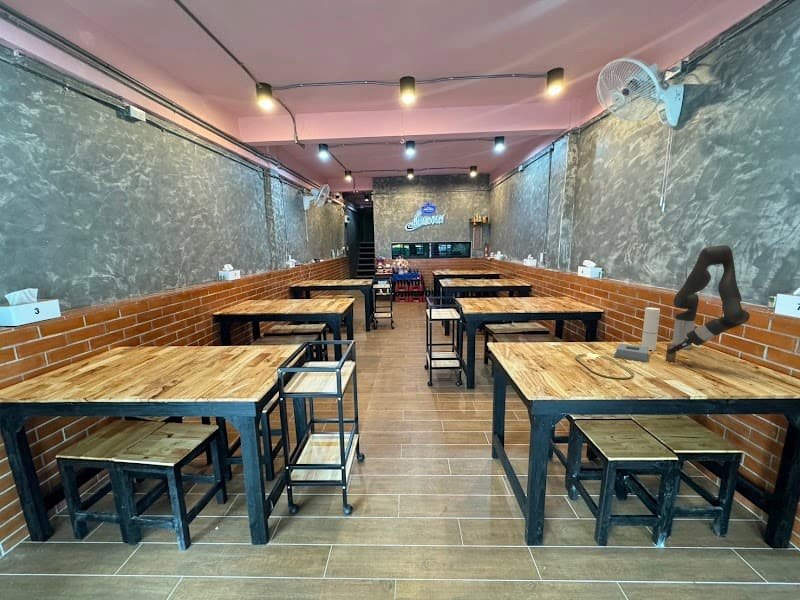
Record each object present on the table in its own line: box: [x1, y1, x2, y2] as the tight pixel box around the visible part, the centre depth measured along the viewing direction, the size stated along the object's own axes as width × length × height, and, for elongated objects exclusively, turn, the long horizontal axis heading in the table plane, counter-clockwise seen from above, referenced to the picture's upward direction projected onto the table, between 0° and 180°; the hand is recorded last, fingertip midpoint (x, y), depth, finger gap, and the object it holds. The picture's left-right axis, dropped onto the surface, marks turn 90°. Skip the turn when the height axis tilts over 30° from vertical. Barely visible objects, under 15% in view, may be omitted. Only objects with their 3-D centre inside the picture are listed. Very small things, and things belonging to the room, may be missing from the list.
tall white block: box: [640, 307, 661, 351], centre depth 200 cm, size 7×7×25 cm
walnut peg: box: [665, 342, 677, 363], centre depth 180 cm, size 4×4×10 cm
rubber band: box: [575, 353, 635, 380], centre depth 174 cm, size 19×35×2 cm, turn 176°
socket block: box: [613, 343, 651, 363], centre depth 189 cm, size 16×16×5 cm
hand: (670, 351), depth 180 cm, fingers open, 8 cm apart
